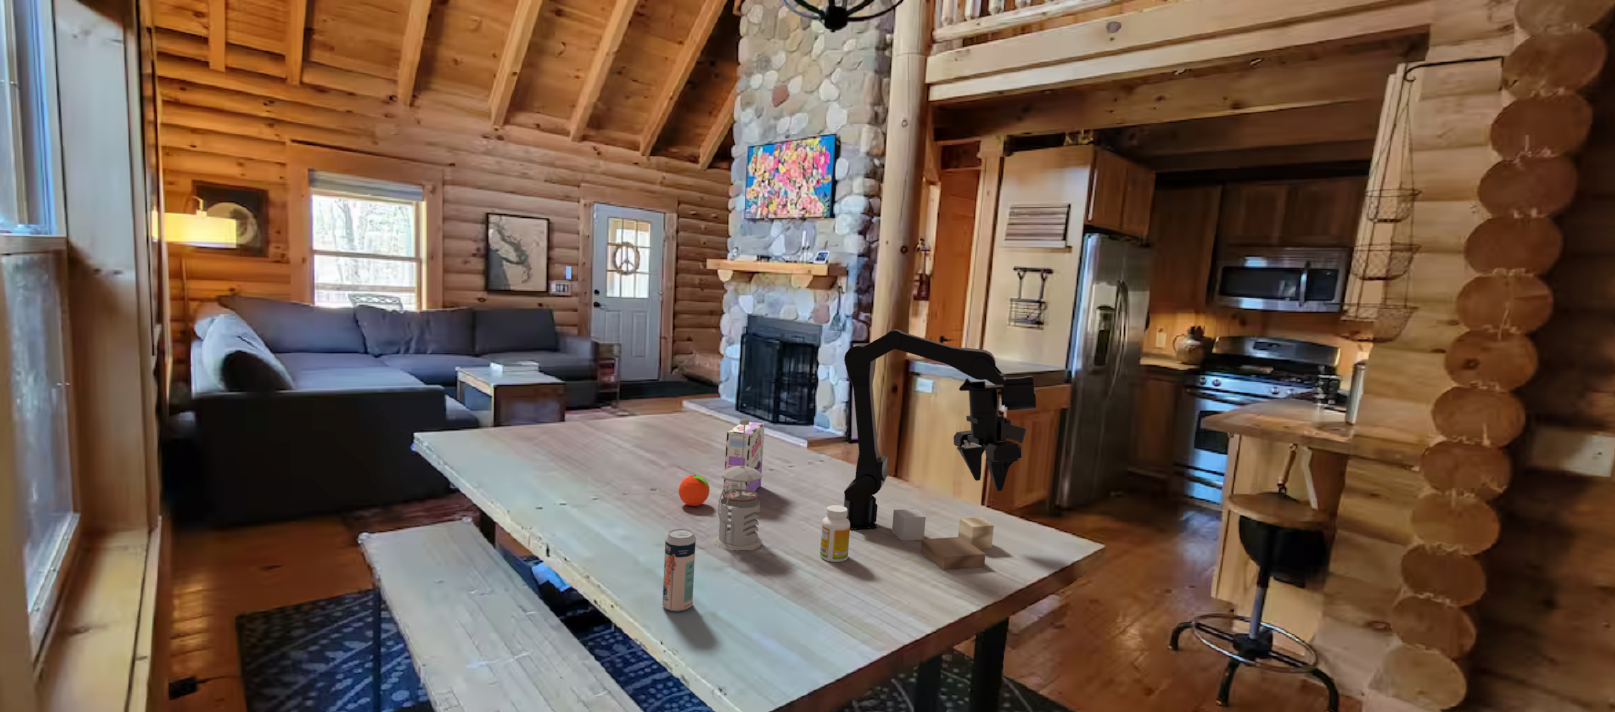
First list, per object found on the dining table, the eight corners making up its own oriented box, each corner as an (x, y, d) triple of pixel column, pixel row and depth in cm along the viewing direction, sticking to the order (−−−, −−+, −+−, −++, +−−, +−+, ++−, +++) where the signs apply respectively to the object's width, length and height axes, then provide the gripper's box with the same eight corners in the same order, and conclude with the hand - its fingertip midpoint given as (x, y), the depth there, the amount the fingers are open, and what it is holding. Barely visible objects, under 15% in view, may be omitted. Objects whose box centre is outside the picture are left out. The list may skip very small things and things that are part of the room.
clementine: (718, 506, 159) (720, 475, 158) (698, 513, 153) (699, 482, 152) (692, 498, 163) (693, 468, 162) (671, 505, 157) (672, 474, 156)
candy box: (746, 502, 162) (750, 433, 161) (722, 499, 164) (725, 430, 162) (761, 486, 176) (765, 422, 174) (739, 483, 177) (743, 419, 175)
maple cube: (970, 550, 142) (972, 526, 142) (957, 541, 147) (959, 518, 146) (991, 548, 144) (993, 525, 143) (978, 539, 149) (980, 517, 148)
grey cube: (902, 541, 145) (904, 517, 144) (891, 532, 150) (893, 509, 149) (923, 539, 146) (925, 516, 146) (912, 531, 151) (914, 508, 151)
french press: (771, 539, 141) (778, 418, 138) (742, 558, 130) (749, 427, 128) (729, 529, 145) (736, 411, 142) (698, 546, 134) (704, 420, 132)
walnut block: (943, 572, 131) (944, 557, 131) (920, 553, 140) (921, 539, 139) (984, 568, 134) (985, 553, 134) (959, 550, 143) (960, 536, 142)
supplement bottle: (850, 554, 136) (854, 506, 134) (843, 564, 130) (847, 514, 129) (824, 549, 137) (828, 501, 136) (816, 559, 132) (819, 509, 131)
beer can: (664, 598, 112) (667, 527, 111) (693, 599, 113) (697, 528, 111) (660, 613, 108) (663, 538, 106) (691, 613, 108) (695, 539, 107)
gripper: (1044, 412, 136) (1048, 490, 137) (996, 401, 154) (1000, 470, 155) (993, 419, 134) (997, 498, 135) (950, 407, 152) (954, 477, 153)
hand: (988, 485), depth 145 cm, fingers open, 9 cm apart
